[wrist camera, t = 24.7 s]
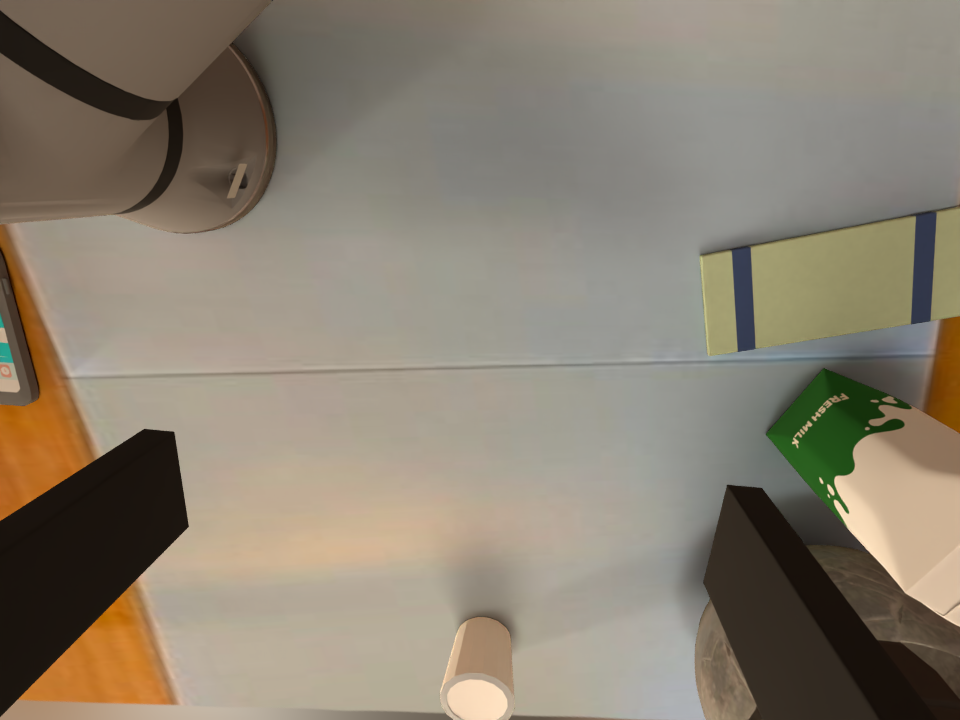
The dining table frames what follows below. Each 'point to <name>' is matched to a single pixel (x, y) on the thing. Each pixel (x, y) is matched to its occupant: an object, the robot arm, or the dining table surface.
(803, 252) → the tea towel
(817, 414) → the milk carton
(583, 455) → the dining table surface
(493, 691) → the beige tapered cylinder
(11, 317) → the smartphone
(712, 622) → the bowl
